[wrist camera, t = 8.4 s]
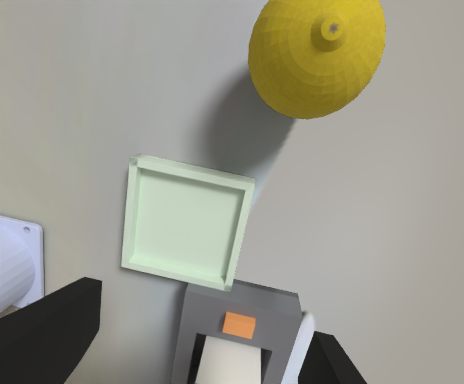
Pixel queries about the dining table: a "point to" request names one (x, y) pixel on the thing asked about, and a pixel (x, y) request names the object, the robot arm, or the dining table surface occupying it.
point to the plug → (229, 363)
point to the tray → (185, 221)
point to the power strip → (237, 326)
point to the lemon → (315, 53)
